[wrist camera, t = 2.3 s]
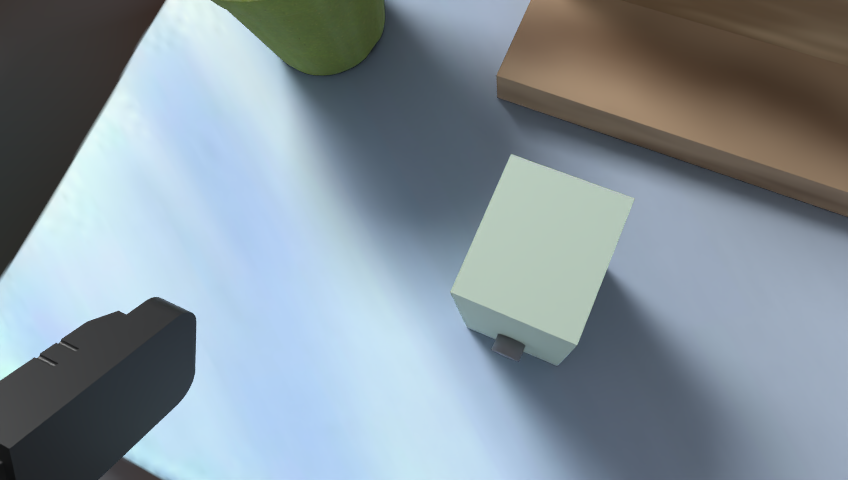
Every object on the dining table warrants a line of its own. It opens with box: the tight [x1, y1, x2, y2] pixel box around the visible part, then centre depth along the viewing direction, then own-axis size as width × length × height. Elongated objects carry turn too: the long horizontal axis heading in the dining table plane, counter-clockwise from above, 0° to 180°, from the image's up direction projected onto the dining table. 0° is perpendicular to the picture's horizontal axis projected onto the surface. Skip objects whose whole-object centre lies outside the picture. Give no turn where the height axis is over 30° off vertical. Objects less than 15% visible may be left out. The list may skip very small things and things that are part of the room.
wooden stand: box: [497, 0, 848, 217], centre depth 28 cm, size 8×20×15 cm, turn 65°
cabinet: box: [450, 154, 635, 366], centre depth 29 cm, size 7×5×10 cm
